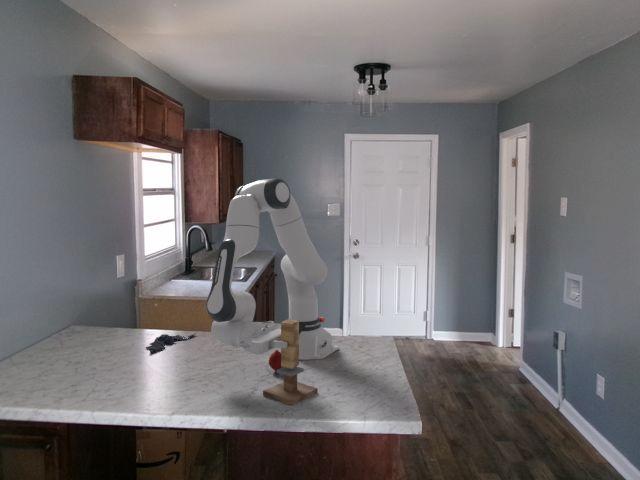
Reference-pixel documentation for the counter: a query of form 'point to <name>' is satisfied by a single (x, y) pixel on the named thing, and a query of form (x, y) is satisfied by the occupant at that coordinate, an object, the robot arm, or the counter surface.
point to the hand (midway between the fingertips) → (292, 342)
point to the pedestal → (290, 387)
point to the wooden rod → (290, 343)
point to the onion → (275, 360)
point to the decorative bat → (164, 342)
